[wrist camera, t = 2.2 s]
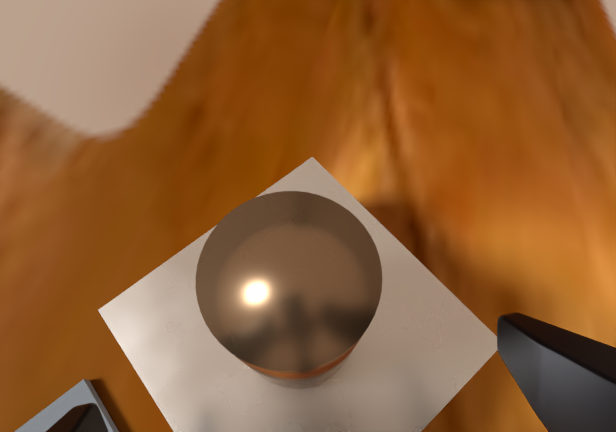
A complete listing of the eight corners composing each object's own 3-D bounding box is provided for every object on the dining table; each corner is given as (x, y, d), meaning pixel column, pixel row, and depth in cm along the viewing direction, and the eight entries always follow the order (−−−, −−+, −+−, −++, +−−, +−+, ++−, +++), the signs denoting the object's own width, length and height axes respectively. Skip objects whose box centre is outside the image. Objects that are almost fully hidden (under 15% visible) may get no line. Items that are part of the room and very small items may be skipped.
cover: (456, 360, 18) (626, 297, 8) (283, 539, 16) (238, 757, 6) (311, 210, 22) (313, 39, 12) (148, 335, 19) (-29, 247, 9)
